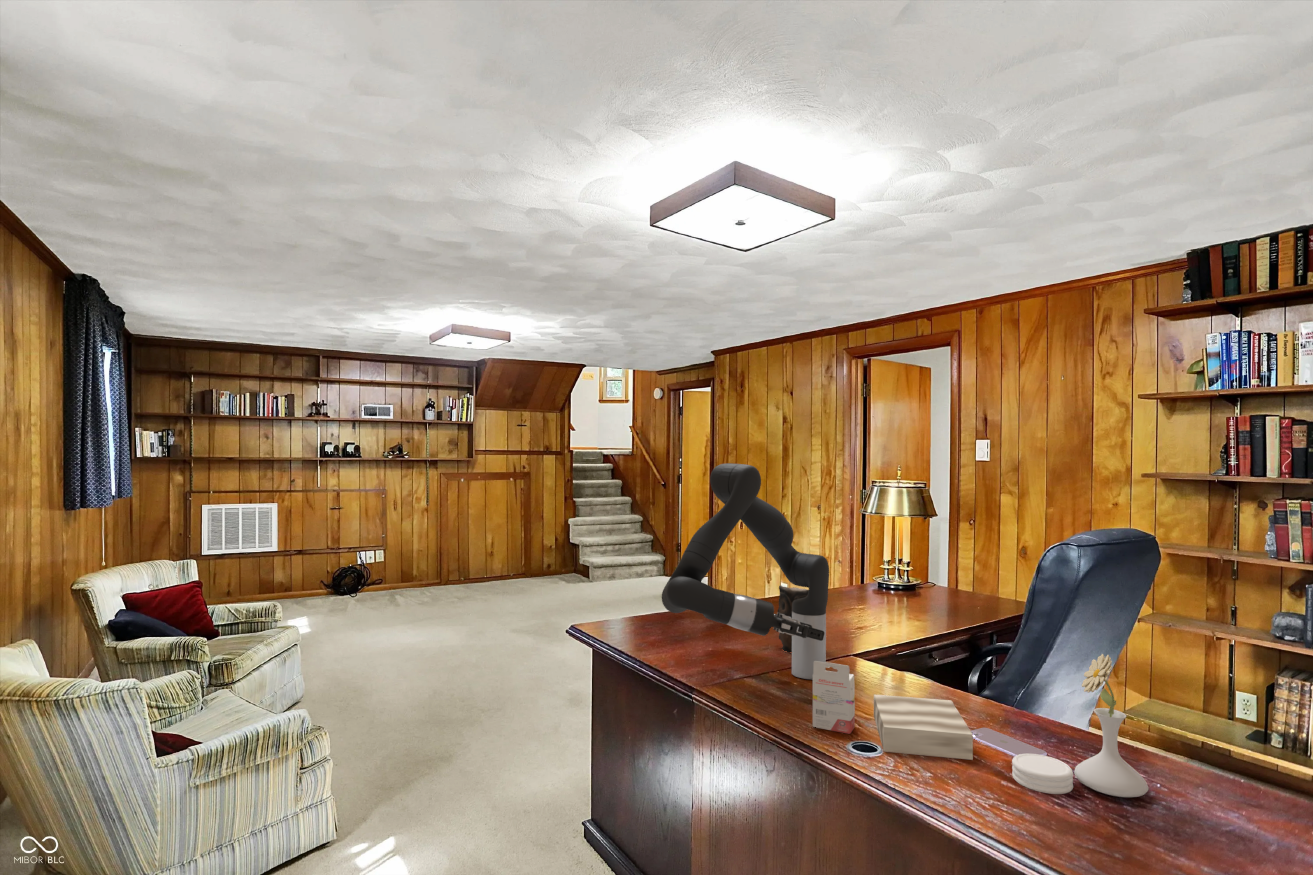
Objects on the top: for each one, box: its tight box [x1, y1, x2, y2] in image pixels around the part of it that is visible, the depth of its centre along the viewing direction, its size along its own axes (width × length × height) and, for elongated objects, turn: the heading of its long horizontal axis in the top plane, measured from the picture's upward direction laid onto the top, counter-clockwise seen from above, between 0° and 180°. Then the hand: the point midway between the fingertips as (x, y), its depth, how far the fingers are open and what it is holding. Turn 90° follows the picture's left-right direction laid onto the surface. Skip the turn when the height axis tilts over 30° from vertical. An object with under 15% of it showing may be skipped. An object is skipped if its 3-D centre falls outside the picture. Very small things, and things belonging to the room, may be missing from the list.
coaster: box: [1011, 754, 1074, 795], centre depth 130 cm, size 10×10×4 cm
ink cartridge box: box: [812, 661, 856, 734], centre depth 155 cm, size 9×5×15 cm, turn 62°
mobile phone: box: [970, 727, 1048, 758], centre depth 146 cm, size 8×1×15 cm
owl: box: [776, 584, 809, 652], centre depth 215 cm, size 13×13×20 cm
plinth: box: [873, 694, 974, 761], centre depth 150 cm, size 20×17×5 cm
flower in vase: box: [1073, 653, 1149, 798], centre depth 127 cm, size 13×11×25 cm
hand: (816, 632), depth 157 cm, fingers open, 8 cm apart
